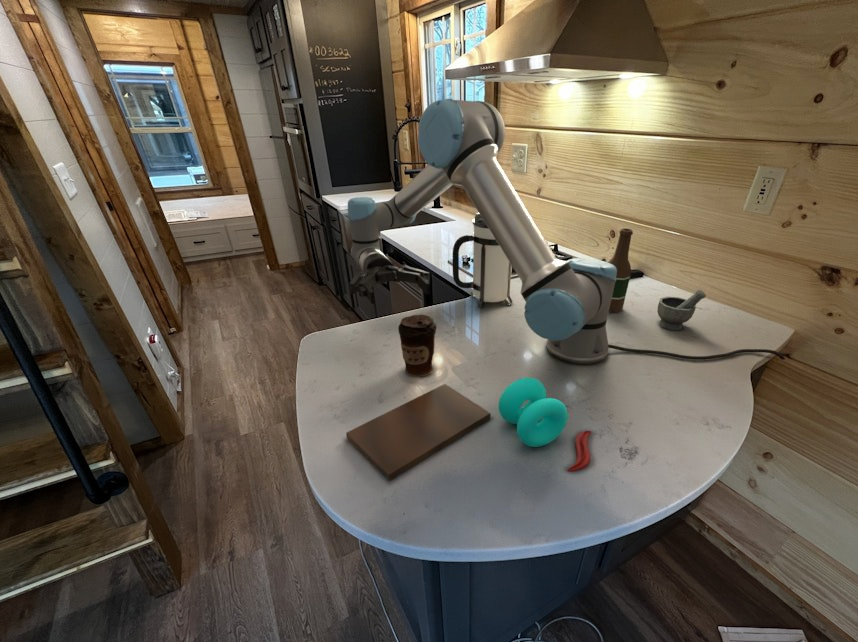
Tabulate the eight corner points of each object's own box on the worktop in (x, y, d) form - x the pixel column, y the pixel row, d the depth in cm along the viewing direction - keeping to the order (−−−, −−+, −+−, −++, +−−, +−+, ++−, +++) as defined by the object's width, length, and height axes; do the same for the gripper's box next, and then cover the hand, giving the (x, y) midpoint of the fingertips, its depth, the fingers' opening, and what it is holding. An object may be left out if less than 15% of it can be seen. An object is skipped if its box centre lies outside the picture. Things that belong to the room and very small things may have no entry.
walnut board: (445, 389, 89) (444, 383, 88) (490, 418, 81) (490, 413, 80) (347, 438, 75) (345, 432, 74) (389, 481, 67) (388, 474, 66)
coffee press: (482, 287, 141) (485, 195, 125) (522, 298, 133) (530, 201, 117) (451, 303, 129) (450, 203, 113) (493, 316, 121) (499, 210, 105)
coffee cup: (431, 382, 91) (429, 331, 84) (396, 378, 92) (391, 327, 85) (441, 363, 98) (440, 314, 91) (408, 359, 100) (404, 310, 93)
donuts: (519, 456, 72) (524, 412, 66) (494, 423, 80) (497, 380, 74) (566, 441, 75) (575, 398, 70) (538, 411, 83) (543, 369, 77)
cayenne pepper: (579, 476, 68) (581, 468, 67) (554, 464, 70) (556, 456, 69) (606, 439, 76) (608, 431, 75) (583, 429, 78) (585, 421, 77)
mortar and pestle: (647, 324, 118) (658, 285, 111) (660, 315, 123) (671, 277, 117) (686, 337, 111) (700, 296, 105) (699, 327, 117) (713, 287, 110)
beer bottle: (625, 306, 129) (644, 228, 116) (618, 315, 123) (637, 234, 110) (601, 301, 132) (616, 225, 119) (593, 309, 126) (609, 230, 113)
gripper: (420, 273, 117) (450, 300, 101) (332, 286, 107) (349, 317, 92) (419, 247, 113) (449, 270, 97) (327, 258, 103) (344, 285, 87)
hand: (401, 293), depth 94 cm, fingers open, 13 cm apart
